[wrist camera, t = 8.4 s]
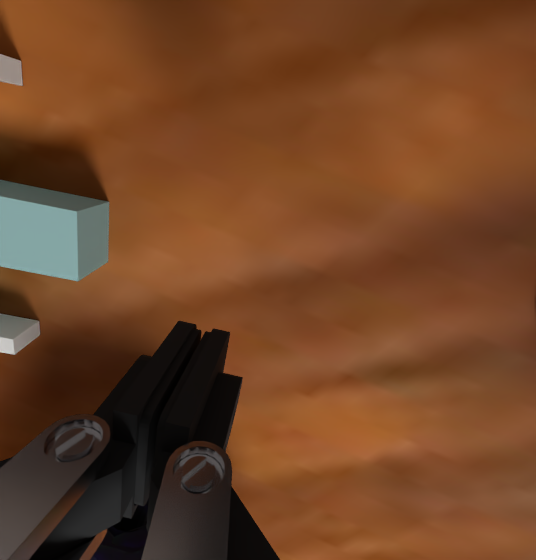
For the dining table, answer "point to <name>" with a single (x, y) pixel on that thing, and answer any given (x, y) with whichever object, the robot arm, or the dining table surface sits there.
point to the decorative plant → (125, 538)
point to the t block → (52, 231)
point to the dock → (4, 328)
